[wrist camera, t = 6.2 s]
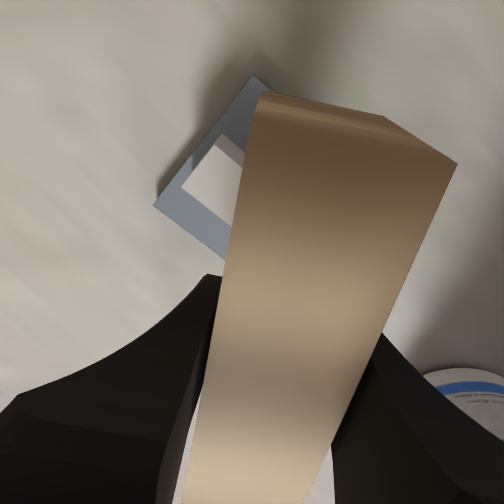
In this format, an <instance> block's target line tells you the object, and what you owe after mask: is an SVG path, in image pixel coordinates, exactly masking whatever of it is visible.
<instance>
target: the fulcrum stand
mask: <svg viewBox="0 0 504 504" xmlns="http://www.w3.org/2000/svg"><path fill="white" fill-rule="evenodd" d="M262 91H268V92H273V91H272V90H271V89H270V88H268V87H267V86H266V85H265V84H264V83H263V82H262V81H261V80H260V79H259V78H258V77H257V76H256V75H255V74H254V75H253V76H252V77H251V78H250V80H249V81H248V82H247V83H246V85H245V86H244V87H243V89H242V90H241V91H240V92H239V94H238V95H237V96H236V98H235V99H234V100H233V102H232V103H231V104H230V105H229V107H228V108H227V109H226V111H225V112H224V113H223V114H222V116H221V117H220V118H219V120H218V121H217V122H216V124H215V125H214V126H213V127H212V129H211V130H210V131H209V133H208V134H207V135H206V136H205V138H204V139H203V140H202V142H201V143H200V144H199V146H198V147H197V148H196V149H195V151H194V152H193V153H192V155H191V156H190V157H189V158H188V160H187V161H186V162H185V164H184V165H183V166H182V168H181V169H180V170H179V171H178V173H177V174H176V175H175V177H174V178H173V179H172V180H171V182H170V183H169V184H168V186H167V187H166V188H165V189H164V191H163V192H162V193H161V195H160V196H159V197H158V199H157V200H156V201H155V202H154V204H153V206H154V207H155V208H157V209H158V210H159V211H161V212H162V213H163V214H165V215H166V216H167V217H169V218H170V219H171V220H173V221H174V222H175V223H177V224H178V225H179V226H181V227H182V228H183V229H185V230H186V231H187V232H188V233H190V234H191V235H192V236H194V237H195V238H196V239H198V240H199V241H200V242H202V243H203V244H204V245H206V246H207V247H208V248H210V249H211V250H212V251H214V252H215V253H216V254H218V255H219V256H220V257H222V258H223V259H224V260H226V256H227V250H228V245H229V239H230V234H231V228H232V223H233V217H234V212H235V206H236V200H237V195H238V189H239V184H240V178H241V173H242V167H243V162H244V156H245V151H246V145H247V140H248V134H249V129H250V123H251V119H252V117H253V114H254V111H255V109H256V106H257V104H258V101H259V99H260V96H261V93H262ZM273 93H274V92H273Z"/></svg>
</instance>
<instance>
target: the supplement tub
mask: <svg viewBox="0 0 504 504" xmlns="http://www.w3.org/2000/svg"><path fill="white" fill-rule="evenodd" d="M422 376H423V377H424V378H425V379H426V380H427V381H428V382H429V383H431V384H432V385H433V386H434V387H435V388H436V389H437V390H438V391H440V392H441V393H442V394H443V395H444V396H445V397H446V398H447V399H449V400H450V401H451V402H452V403H453V404H455V405H456V406H457V407H458V408H460V409H461V410H462V411H463V412H465V413H466V414H467V415H468V416H470V417H471V418H472V419H474V420H475V421H476V422H478V423H479V424H480V425H481V426H483V427H484V428H485V429H487V430H488V431H490V432H491V433H492V434H494V435H495V436H497V437H498V438H499V439H501V440H502V441H504V378H503V377H501V376H499V375H497V374H494V373H492V372H488V371H485V370H480V369H472V368H451V369H444V370H438V371H435V372H431V373H428V374H425V375H422Z"/></svg>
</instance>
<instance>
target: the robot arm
mask: <svg viewBox="0 0 504 504" xmlns="http://www.w3.org/2000/svg"><path fill="white" fill-rule="evenodd" d="M222 278H223V277H221V276H216V275H211V274H206V275H205V276H203V278H202V279H201V280H200V282H199V283H198V284H197V285H196V287H195V288H194V289H193V290H192V291H191V292H190V293H189V294H188V295H187V297H185V298H184V299H183V300H182V301H181V302H180V303H179V304H178V305H177V306H176V307H175V308H174V309H173V310H172V311H171V312H170V313H169V314H167V315H166V316H165V317H164V318H163V319H162V320H160V321H159V322H158V323H157V324H156V325H154V326H153V327H152V328H150V329H149V330H148V331H146V332H145V333H144V334H142V335H141V336H139V337H138V338H137V339H135V340H134V341H132V342H131V343H129V344H127V345H126V346H124V347H123V348H121V349H119V350H118V351H116V352H114V353H113V354H111V355H109V356H107V357H106V358H104V359H102V360H100V361H98V362H96V363H94V364H92V365H90V366H88V367H86V368H84V369H82V370H79V371H77V372H75V373H73V374H71V375H68V376H66V377H64V378H61V379H59V380H56V381H53V382H51V383H48V384H45V385H43V386H40V387H37V388H35V389H32V390H29V391H27V392H24V393H21V394H18V395H17V396H16V397H15V398H14V399H13V400H12V401H11V403H10V404H9V405H8V406H7V407H6V408H5V409H4V410H3V411H2V412H1V413H0V504H172V501H173V497H174V492H175V488H176V483H177V479H178V474H179V470H180V465H181V461H182V456H183V452H184V447H185V443H186V439H187V434H188V431H189V427H190V424H191V420H192V417H193V414H194V411H195V408H196V405H197V402H198V399H199V396H200V393H201V389H202V386H203V382H204V377H205V371H206V366H207V360H208V355H209V349H210V344H211V338H212V333H213V327H214V322H215V316H216V311H217V305H218V300H219V294H220V289H221V283H222ZM331 451H332V459H333V474H334V490H335V504H504V441H502V440H501V439H499V438H498V437H497V436H495V435H494V434H492V433H491V432H490V431H488V430H487V429H485V428H484V427H483V426H481V425H480V424H479V423H478V422H476V421H475V420H474V419H472V418H471V417H470V416H468V415H467V414H466V413H465V412H463V411H462V410H461V409H460V408H458V407H457V406H456V405H455V404H453V403H452V402H451V401H450V400H449V399H447V398H446V397H445V396H444V395H443V394H442V393H441V392H440V391H438V390H437V389H436V388H435V387H434V386H433V385H432V384H431V383H429V382H428V381H427V380H426V379H425V378H424V377H423V376H422V375H421V374H420V373H419V372H418V371H417V370H416V369H415V368H414V367H413V366H412V365H411V364H410V363H409V362H408V361H407V360H406V359H405V358H404V356H403V355H402V354H401V353H400V352H399V351H398V350H397V349H396V348H395V347H394V346H393V344H392V343H391V342H390V341H389V340H388V339H387V338H386V336H385V335H384V334H383V333H382V332H381V335H380V337H379V339H378V341H377V343H376V346H375V348H374V350H373V352H372V355H371V357H370V359H369V361H368V363H367V366H366V368H365V370H364V372H363V374H362V377H361V379H360V381H359V383H358V386H357V388H356V390H355V392H354V394H353V397H352V399H351V401H350V403H349V405H348V408H347V410H346V412H345V414H344V416H343V419H342V421H341V423H340V425H339V428H338V430H337V432H336V434H335V436H334V439H333V441H332V443H331Z"/></svg>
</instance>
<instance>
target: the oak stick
mask: <svg viewBox="0 0 504 504" xmlns="http://www.w3.org/2000/svg"><path fill="white" fill-rule="evenodd" d="M457 164H458V163H456V162H454V161H453V160H451V159H450V158H448V157H447V156H445V155H443V154H442V153H440V152H439V151H437V150H436V149H434V148H432V147H431V146H429V145H428V144H426V143H425V142H423V141H422V140H420V139H418V138H417V137H415V136H414V135H412V134H411V133H409V132H407V131H406V130H404V129H403V128H401V127H400V126H398V125H396V124H395V123H393V122H392V121H390V120H389V119H387V118H386V117H384V116H381V115H376V114H371V113H367V112H362V111H357V110H353V109H348V108H343V107H339V106H334V105H329V104H324V103H320V102H315V101H310V100H306V99H301V98H296V97H292V96H287V95H282V94H277V93H273V92H268V91H262V93H261V96H260V99H259V101H258V104H257V106H256V109H255V111H254V114H253V117H252V119H251V123H250V129H249V134H248V140H247V145H246V151H245V156H244V162H243V167H242V173H241V178H240V184H239V189H238V195H237V200H236V206H235V212H234V217H233V223H232V228H231V234H230V239H229V245H228V250H227V256H226V261H225V267H224V272H223V278H222V283H221V289H220V294H219V300H218V305H217V311H216V316H215V322H214V327H213V333H212V338H211V344H210V349H209V355H208V360H207V366H206V371H205V377H204V382H203V388H202V393H201V399H200V404H199V410H198V415H197V421H196V426H195V432H194V437H193V443H192V448H191V454H190V459H189V465H188V470H187V476H186V481H185V487H184V492H183V498H182V503H181V504H304V503H305V501H306V498H307V496H308V494H309V492H310V490H311V487H312V485H313V483H314V481H315V478H316V476H317V474H318V472H319V470H320V467H321V465H322V463H323V461H324V459H325V456H326V454H327V452H328V450H329V447H330V445H331V443H332V441H333V439H334V436H335V434H336V432H337V430H338V428H339V425H340V423H341V421H342V419H343V416H344V414H345V412H346V410H347V408H348V405H349V403H350V401H351V399H352V397H353V394H354V392H355V390H356V388H357V386H358V383H359V381H360V379H361V377H362V374H363V372H364V370H365V368H366V366H367V363H368V361H369V359H370V357H371V355H372V352H373V350H374V348H375V346H376V343H377V341H378V339H379V337H380V335H381V332H382V330H383V328H384V326H385V324H386V321H387V319H388V317H389V315H390V312H391V310H392V308H393V306H394V304H395V301H396V299H397V297H398V295H399V293H400V290H401V288H402V286H403V284H404V281H405V279H406V277H407V275H408V273H409V270H410V268H411V266H412V264H413V262H414V259H415V257H416V255H417V253H418V250H419V248H420V246H421V244H422V242H423V239H424V237H425V235H426V233H427V231H428V228H429V226H430V224H431V222H432V220H433V217H434V215H435V213H436V211H437V208H438V206H439V204H440V202H441V200H442V197H443V195H444V193H445V191H446V189H447V186H448V184H449V182H450V180H451V177H452V175H453V173H454V171H455V169H456V166H457Z"/></svg>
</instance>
